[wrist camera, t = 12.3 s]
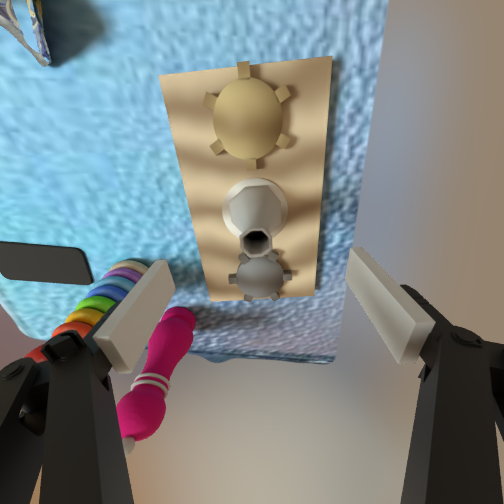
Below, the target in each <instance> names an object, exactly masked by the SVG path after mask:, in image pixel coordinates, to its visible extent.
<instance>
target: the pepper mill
mask: <svg viewBox="0 0 504 504" xmlns="http://www.w3.org/2000/svg"><path fill="white" fill-rule="evenodd" d="M195 324H196V318H195V316H194V314H193V313H192V312H191V311H189V310H187V309H185V308H182V307H173V308H170V309H168V310H167V311H166V312H165V313H164V315H163V317H162V319H161V322H159V323H158V324H157V326H156V328H155V330H154V332H153V333H152V335H151V337H150V339H149V345H148V358H147V362H146V364H145V367H144V369H143V371H142V373H141V374H140V375H138V376H137V377H136V378H135V380H134V383H133V384H132V386H131V392H129V393H127V394H126V395H125V396H124V397H123V398H122V399H121V400H120V401H119V403H118V404H117V407H116V410H117V416H118V421H119V426H120V431H121V437H122V442H123V447H124V453H125V457H126V456H127V455H129V454H130V453H131V452H132V451H133V449H134V446H135V441H140V440H143V439H146V438H148V437H149V436H151V435H152V434H153V433H154V432H155V431H156V430H157V429H158V428H159V426H160V424H161V423H162V420H163V418H164V415H165V411H166V405H165V401H164V399H165V398H166V397H167V395H168V390H169V389H170V383H169V380H170V376H171V374H172V372H173V370H174V368H175V366H176V365H177V363H178V362H179V361H180V360H181V359H182V357H183V356H184V355H185V354H186V353H187V351H188V350H189V348H190V346H191V344H192V341H193V332H192V331H193V330H194V327H195Z"/></svg>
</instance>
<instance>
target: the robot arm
mask: <svg viewBox="0 0 504 504" xmlns="http://www.w3.org/2000/svg"><path fill="white" fill-rule="evenodd" d="M345 280H346V282H347V284H348V285H349V287H350V288H351V290H352V291H353V293H354V295H355V296H356V298H357V299H358V301H359V303H360V304H361V306H362V307H363V309H364V310H365V312H366V314H367V315H368V317H369V318H370V320H371V321H372V323H373V324H374V326H375V328H376V329H377V331H378V333H379V334H380V336H381V337H382V339H383V340H384V342H385V343H386V345H387V347H388V348H389V350H390V351H391V353H392V354H393V356H394V358H395V359H396V361H397V363H398V364H415V363H416V361H417V359H418V357H419V355H420V357H421V358H422V359H423V361H424V362H425V365H424V367H423V369H422V371H421V372H420V374H419V376H418V378H421V383H420V389H419V395H418V401H417V407H416V413H415V420H414V425H413V431H412V437H411V443H410V449H409V456H408V461H407V467H406V473H405V479H404V486H403V491H402V497H401V504H503V496H502V487H501V476H500V467H499V457H498V446H497V437H496V427H495V421H496V424H497V426H498V429H499V431H500V434H501V436H502V439H503V441H504V344H499V343H494V342H489V341H484V340H483V339H482V338H481V337H480V336H478V335H476V334H475V333H473V332H472V331H470V330H467V329H465V328H462V327H458V326H453V325H452V324H451V323H450V322H449V321H448V320H447V319H446V318H445V317H444V316H443V315H442V314H441V313H439V312H438V311H437V310H436V309H435V308H434V307H433V306H432V305H431V304H429V302H428V301H427V300H426V299H424V298H423V296H421V295H420V294H419V293H418V292H417V291H416V290H415V289H413V288H411V287H409V286H407V285H399V284H398V283H397V282H396V281H395V280H394V279H393V278H392V277H391V276H390V275H389V274H388V273H387V272H386V271H385V270H384V269H383V268H382V267H381V266H380V265H379V264H378V263H377V262H376V261H375V260H374V259H373V258H372V257H371V256H370V255H369V254H368V253H367V252H366V251H365V250H364V249H363V248H362V247H352V248H350V253H349V259H348V265H347V271H346V277H345ZM175 290H176V287H175V284H174V281H173V278H172V275H171V272H170V269H169V266H168V263H167V260H166V259H165V260H156V261H155V262H154V263H153V264H152V265H151V267H150V268H149V269H148V270H147V272H146V273H145V274H144V275H143V276H142V278H141V279H140V280H139V281H138V282H137V284H136V285H135V286H134V287H133V288H132V290H131V291H130V292H129V293H128V295H127V296H126V297H125V298H124V299H123V300H119V301H118V302H116V303H115V304H114V305H112V306H111V307H110V308H109V309H108V310H107V312H106V313H105V315H103V316H102V317H101V318H100V321H98V322H97V323H96V324H95V325H94V327H93V328H92V329H91V330H90V331H89V332H88V333H87V335H86V336H85V337H84V338H82V337H81V336H80V334H79V333H78V331H76V330H67V331H64V332H61V333H59V334H57V335H56V336H54V337H52V338H51V339H50V340H48V341H47V342H46V343H45V344H44V345H43V346H42V348H41V350H40V352H41V353H42V354H43V355H44V356H45V357H46V358H47V360H46V361H43V362H39V363H37V362H36V361H35V360H34V359H33V358H31V357H25V358H21V359H19V360H17V361H14V362H12V363H10V364H9V365H7V366H6V367H4V368H3V369H2V370H1V371H0V504H30V501H31V497H32V494H33V491H34V488H35V485H36V482H37V479H38V476H39V473H40V469H41V466H42V476H41V486H40V499H39V504H134V501H133V495H132V490H131V484H130V479H129V474H128V469H127V463H126V458H125V453H124V447H123V442H122V437H121V431H120V426H119V421H118V416H117V410H116V405H115V400H114V395H113V389H112V384H111V378H110V376H109V375H108V372H109V371H110V369H111V367H113V368H114V370H115V371H116V372H117V373H132V371H133V369H134V367H135V365H136V363H137V362H138V360H139V358H140V356H141V354H142V352H143V350H144V348H145V347H146V345H147V343H148V341H149V339H150V337H151V335H152V333H153V332H154V330H155V328H156V326H157V324H158V322H159V320H160V318H161V317H162V315H163V313H164V311H165V309H166V307H167V305H168V303H169V301H170V300H171V298H172V296H173V294H174V292H175ZM20 410H22V411H21V414H20ZM19 414H20V416H19Z"/></svg>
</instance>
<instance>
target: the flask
mask: <svg viewBox="0 0 504 504" xmlns="http://www.w3.org/2000/svg"><path fill="white" fill-rule="evenodd" d="M229 206H230V214H231V221H232V223H233V224H234V225H235V226H236V227H237V228H238V229H239V230H240V231H241V232H242V234H241V235H240V236H239V239H240V247H241V250H242V251H243V252H244V253H245V254H246V255H247V256H248V257H249V258H252V257H263V256H264V255H266V254H267V253H268V252H270V251H271V250H272V249H273V245H272V235H271V234H270V233H271V232H272V231H273V230H274V229H275V228H276V227H277V226H278V225H279V224H280V223H281V201H280V200H279V199H278V198H277V196H276V195H275V194H274V193H273V192H272V190H271V189H270V188H269V187H268V185H262V186H250V187H244V188H243V189H242V190H241V191H240V192H239V193H238V194H237V195H236V196H234V197H233V198H232V199H231V200H230V201H229Z"/></svg>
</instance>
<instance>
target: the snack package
mask: <svg viewBox="0 0 504 504" xmlns="http://www.w3.org/2000/svg"><path fill="white" fill-rule="evenodd" d="M26 2H27V4H28V8H29V13H30V15H31V19H32V22H33V31H34V34H35V37H36V41H37V44H38V47H39V52H40V53H38V52H36V51H34V50H33V49H32V48H31V47H30V46H29V45H28V44H27V43H26V41H25V39H24V37H23V33H22V31H21V29H20V27H19V23H18V21H17V18H16V16H15V13H14V10H13V8H12V4H11V0H0V26H2V27H4V28H5V29H6V30H7V31H9V32H10V33H11V34H12V35H13V36H14V37H15V38H17V40H18V41H19V42H20V43H21V44H22V45H23V46H24V47H25V48H26V49H28V50H29V51H30V52H31V53H32V55H33V56H34V57H35V58H36V60H37V61H38V62H39V63H40V64H41V65H42V66H44V67H45V66H47V65H48V64H50V63H51V61H52V58H51V56H50V52H49V48H48V45H47V42H46V39H45V35H44V32H45V30H44V26H43V21H42V20H43V19H42V6H41V1H40V0H26ZM53 43H54V42H53ZM44 57H46V58H47V59H48V60H49V63H48V62H46V61H45V59H44Z"/></svg>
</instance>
